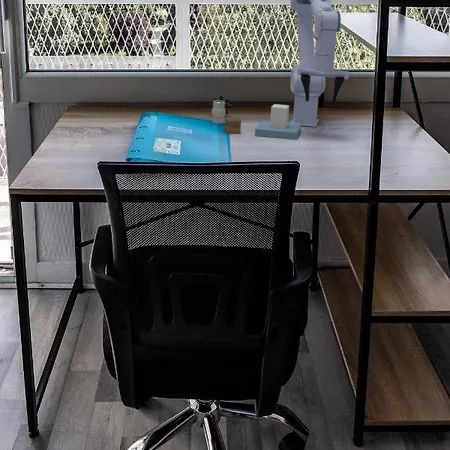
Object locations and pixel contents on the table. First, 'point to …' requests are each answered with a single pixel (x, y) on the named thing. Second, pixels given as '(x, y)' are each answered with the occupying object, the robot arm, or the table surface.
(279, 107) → the white block
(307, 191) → the table surface
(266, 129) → the base board
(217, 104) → the valve
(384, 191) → the table surface
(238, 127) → the walnut block
